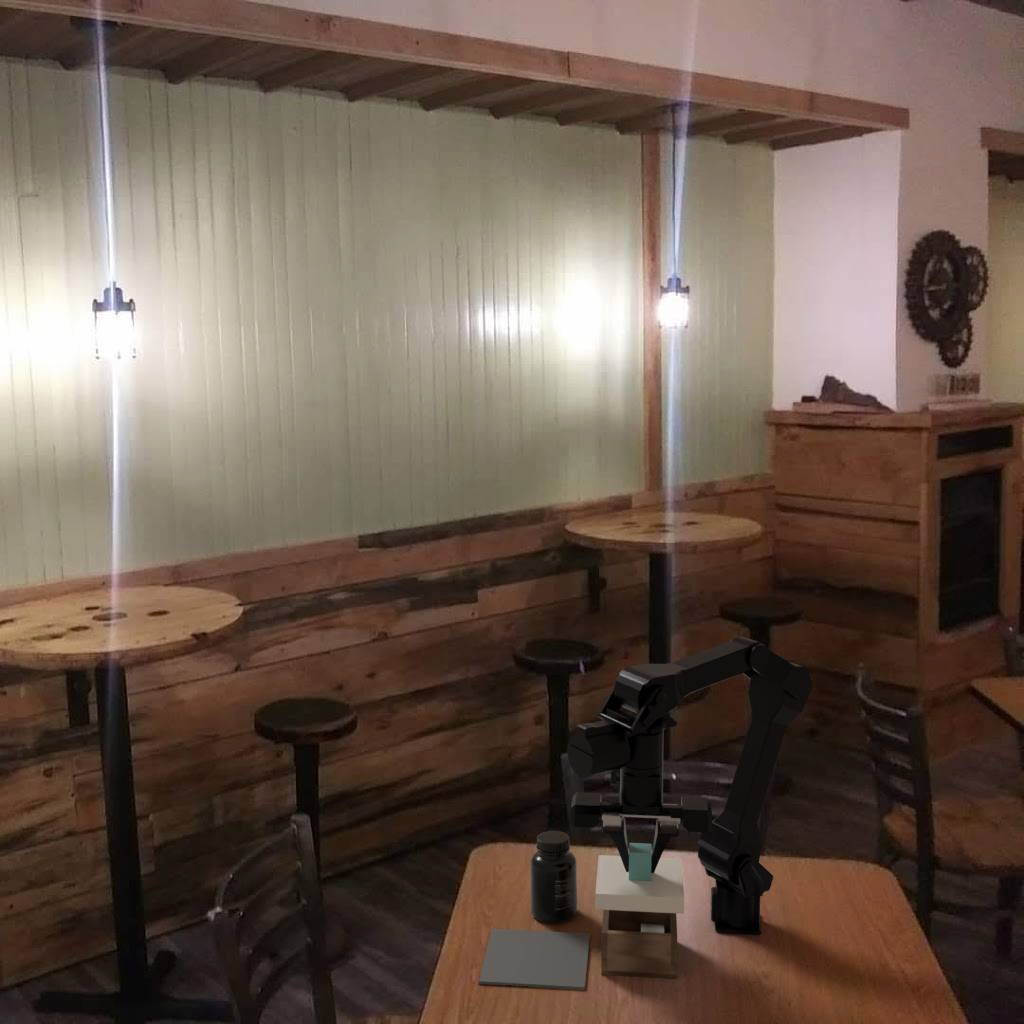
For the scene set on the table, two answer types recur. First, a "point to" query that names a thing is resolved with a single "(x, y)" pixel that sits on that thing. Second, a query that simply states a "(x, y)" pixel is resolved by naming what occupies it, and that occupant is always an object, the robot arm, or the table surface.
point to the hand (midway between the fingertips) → (640, 871)
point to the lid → (639, 883)
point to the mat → (536, 959)
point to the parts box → (639, 944)
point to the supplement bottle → (553, 879)
